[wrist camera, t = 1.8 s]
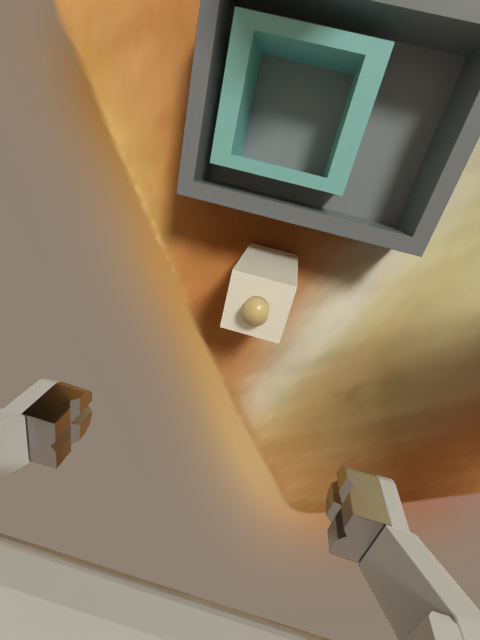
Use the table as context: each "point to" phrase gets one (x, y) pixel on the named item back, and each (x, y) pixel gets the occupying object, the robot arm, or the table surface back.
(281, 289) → the plug
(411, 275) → the table surface
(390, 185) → the organiser box
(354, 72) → the inlet socket
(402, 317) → the table surface
